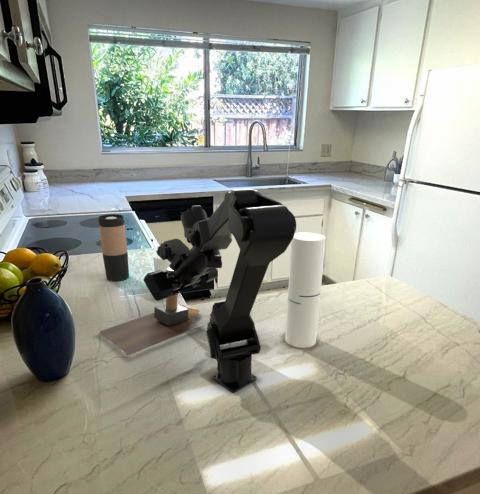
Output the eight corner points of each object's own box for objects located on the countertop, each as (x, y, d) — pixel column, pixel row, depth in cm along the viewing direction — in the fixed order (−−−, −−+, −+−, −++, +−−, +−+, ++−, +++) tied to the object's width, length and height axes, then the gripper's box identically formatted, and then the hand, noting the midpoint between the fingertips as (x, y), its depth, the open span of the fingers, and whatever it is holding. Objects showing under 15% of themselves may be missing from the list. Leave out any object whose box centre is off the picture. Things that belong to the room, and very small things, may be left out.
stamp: (188, 320, 101) (190, 270, 96) (168, 325, 96) (169, 274, 92) (173, 312, 104) (175, 264, 100) (154, 317, 100) (154, 267, 96)
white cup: (149, 287, 123) (147, 256, 119) (165, 279, 130) (163, 249, 126) (170, 292, 120) (168, 260, 116) (185, 284, 126) (184, 253, 122)
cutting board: (201, 329, 98) (201, 325, 98) (128, 360, 86) (127, 355, 85) (169, 311, 108) (169, 307, 107) (98, 336, 95) (97, 331, 95)
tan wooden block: (196, 318, 104) (199, 309, 104) (185, 317, 101) (188, 307, 101) (187, 314, 107) (190, 305, 107) (175, 312, 104) (178, 303, 104)
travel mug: (104, 275, 133) (96, 215, 125) (127, 272, 136) (121, 213, 128) (107, 283, 126) (99, 220, 119) (132, 279, 129) (125, 218, 122)
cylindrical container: (315, 349, 90) (325, 242, 81) (283, 345, 92) (290, 239, 82) (316, 334, 97) (325, 233, 87) (286, 331, 98) (292, 231, 89)
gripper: (209, 223, 96) (180, 257, 107) (145, 238, 83) (119, 275, 94) (233, 262, 95) (201, 292, 105) (172, 283, 82) (143, 315, 92)
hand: (168, 292), depth 99 cm, fingers closed on stamp, 3 cm apart
